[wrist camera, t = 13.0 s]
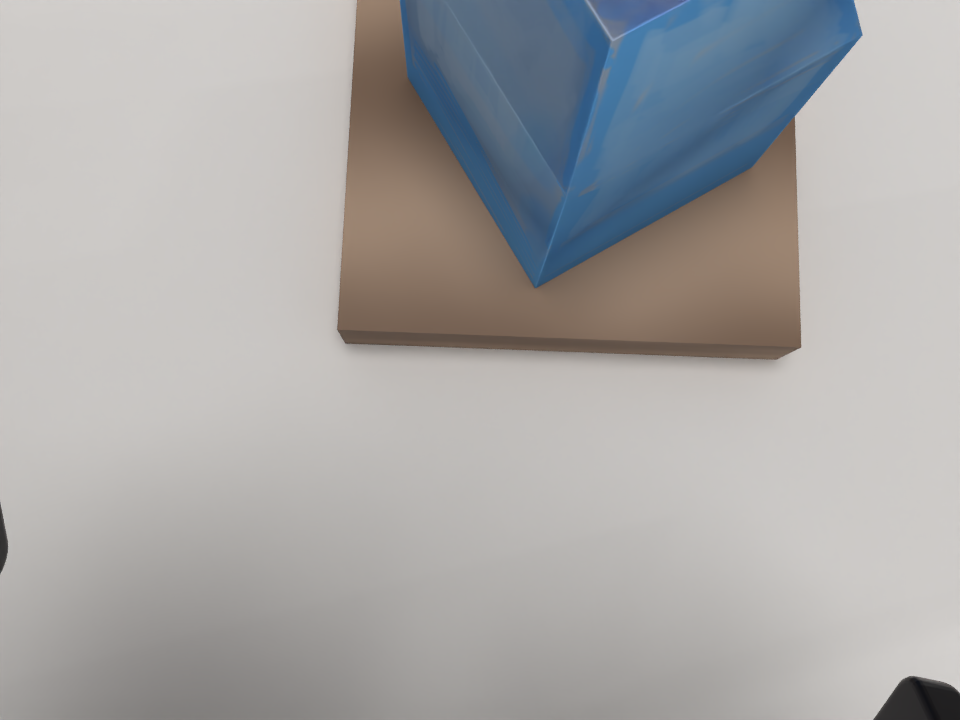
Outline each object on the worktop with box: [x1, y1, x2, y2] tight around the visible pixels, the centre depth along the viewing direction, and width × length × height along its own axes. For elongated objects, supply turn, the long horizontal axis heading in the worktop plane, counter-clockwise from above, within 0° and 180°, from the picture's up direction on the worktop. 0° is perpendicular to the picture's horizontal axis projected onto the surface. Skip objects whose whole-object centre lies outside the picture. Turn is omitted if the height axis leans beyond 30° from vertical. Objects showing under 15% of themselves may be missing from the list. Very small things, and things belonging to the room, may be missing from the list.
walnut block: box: [337, 0, 801, 359], centre depth 24 cm, size 11×11×2 cm
